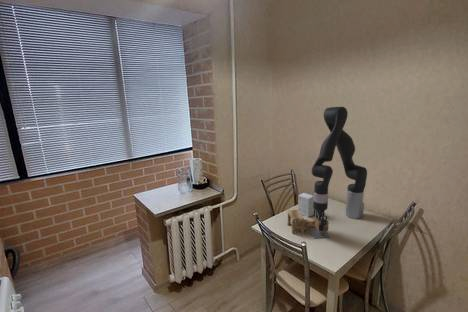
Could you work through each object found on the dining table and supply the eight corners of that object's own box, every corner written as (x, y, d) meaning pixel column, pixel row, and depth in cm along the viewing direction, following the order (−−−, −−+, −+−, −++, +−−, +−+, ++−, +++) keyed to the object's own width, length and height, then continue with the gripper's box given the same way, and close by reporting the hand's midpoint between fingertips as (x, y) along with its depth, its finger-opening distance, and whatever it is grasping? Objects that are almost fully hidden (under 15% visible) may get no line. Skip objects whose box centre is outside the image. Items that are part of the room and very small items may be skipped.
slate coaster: (324, 228, 146) (324, 227, 146) (330, 237, 137) (330, 236, 137) (308, 229, 145) (308, 228, 145) (314, 238, 137) (314, 237, 137)
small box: (313, 214, 163) (314, 195, 160) (308, 217, 160) (308, 198, 156) (303, 210, 170) (303, 192, 166) (297, 213, 166) (298, 195, 162)
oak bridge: (298, 223, 153) (298, 209, 151) (303, 233, 142) (304, 218, 140) (287, 223, 153) (287, 210, 151) (292, 233, 142) (292, 219, 140)
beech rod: (314, 223, 152) (314, 217, 151) (318, 226, 149) (318, 219, 148) (291, 229, 147) (291, 222, 146) (294, 232, 144) (295, 225, 143)
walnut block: (324, 225, 143) (324, 217, 142) (328, 231, 138) (328, 222, 137) (314, 226, 143) (315, 217, 142) (318, 231, 138) (318, 222, 136)
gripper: (332, 205, 129) (331, 234, 133) (322, 194, 143) (321, 221, 147) (318, 206, 129) (317, 235, 133) (309, 195, 143) (308, 221, 147)
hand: (319, 227), depth 140 cm, fingers closed on walnut block, 5 cm apart
